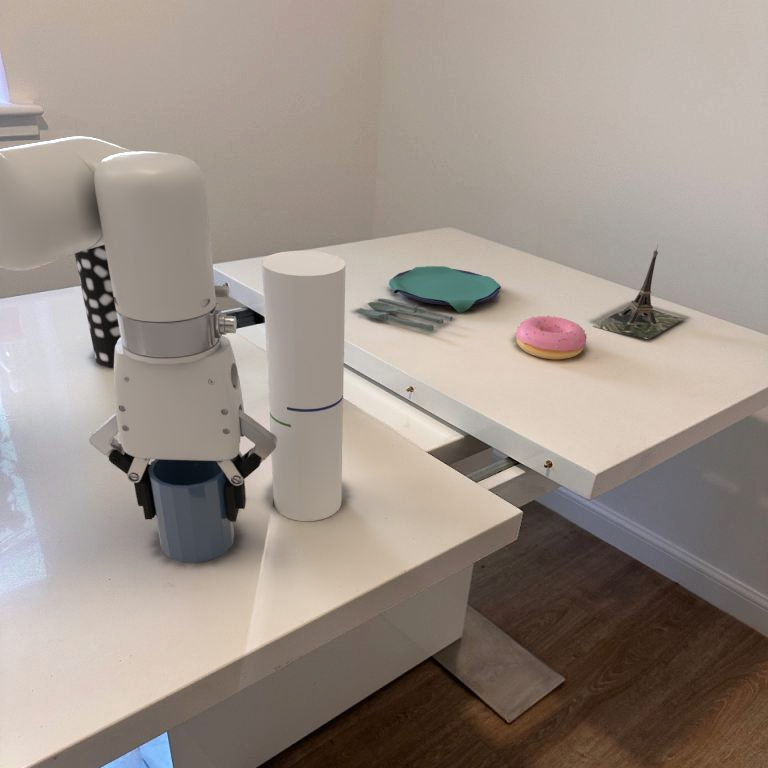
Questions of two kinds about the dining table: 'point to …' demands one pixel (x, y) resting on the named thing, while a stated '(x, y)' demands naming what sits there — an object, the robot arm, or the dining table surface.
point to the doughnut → (551, 337)
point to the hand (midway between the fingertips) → (193, 510)
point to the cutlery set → (434, 293)
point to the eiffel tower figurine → (640, 314)
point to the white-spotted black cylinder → (99, 303)
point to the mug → (190, 509)
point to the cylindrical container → (305, 380)
